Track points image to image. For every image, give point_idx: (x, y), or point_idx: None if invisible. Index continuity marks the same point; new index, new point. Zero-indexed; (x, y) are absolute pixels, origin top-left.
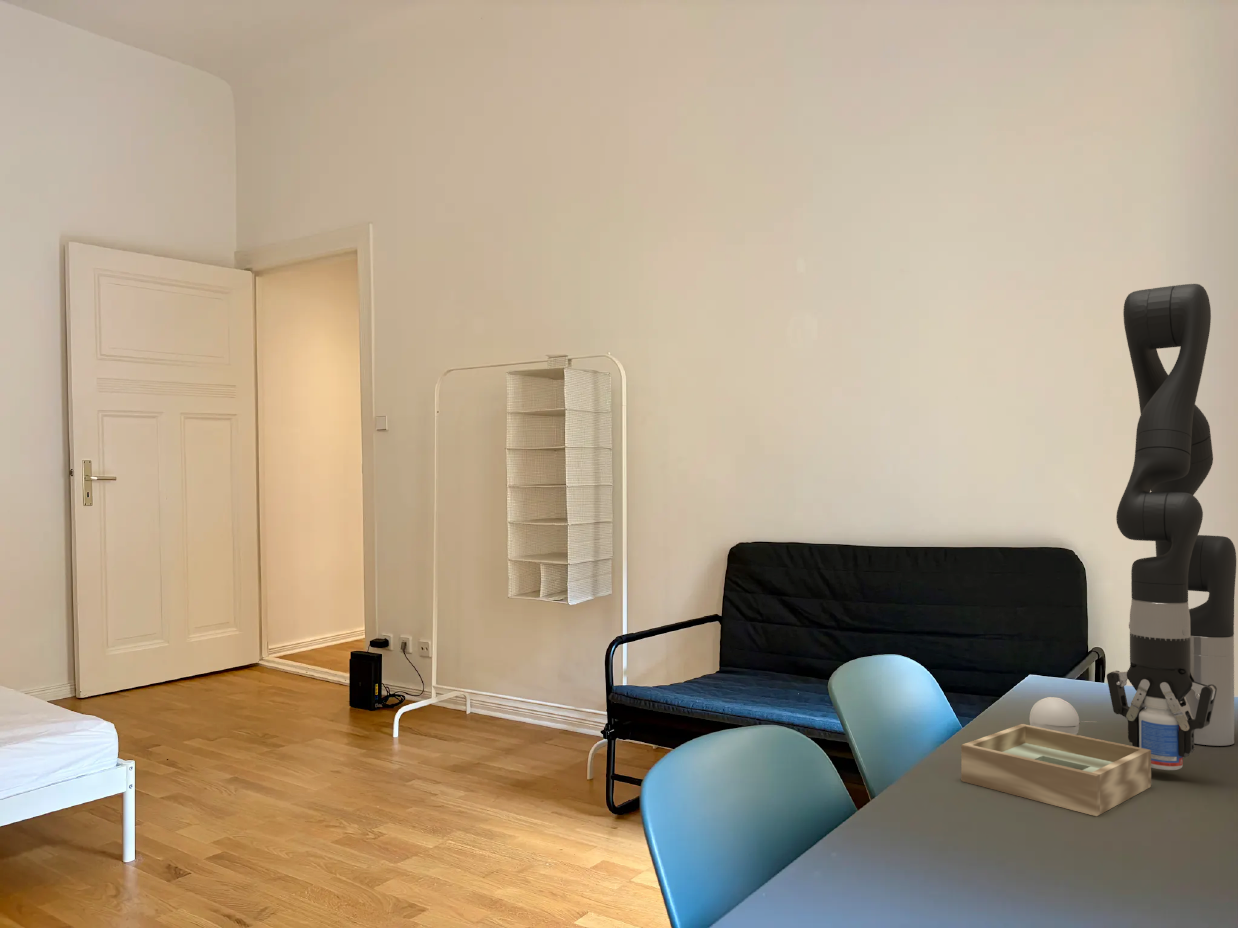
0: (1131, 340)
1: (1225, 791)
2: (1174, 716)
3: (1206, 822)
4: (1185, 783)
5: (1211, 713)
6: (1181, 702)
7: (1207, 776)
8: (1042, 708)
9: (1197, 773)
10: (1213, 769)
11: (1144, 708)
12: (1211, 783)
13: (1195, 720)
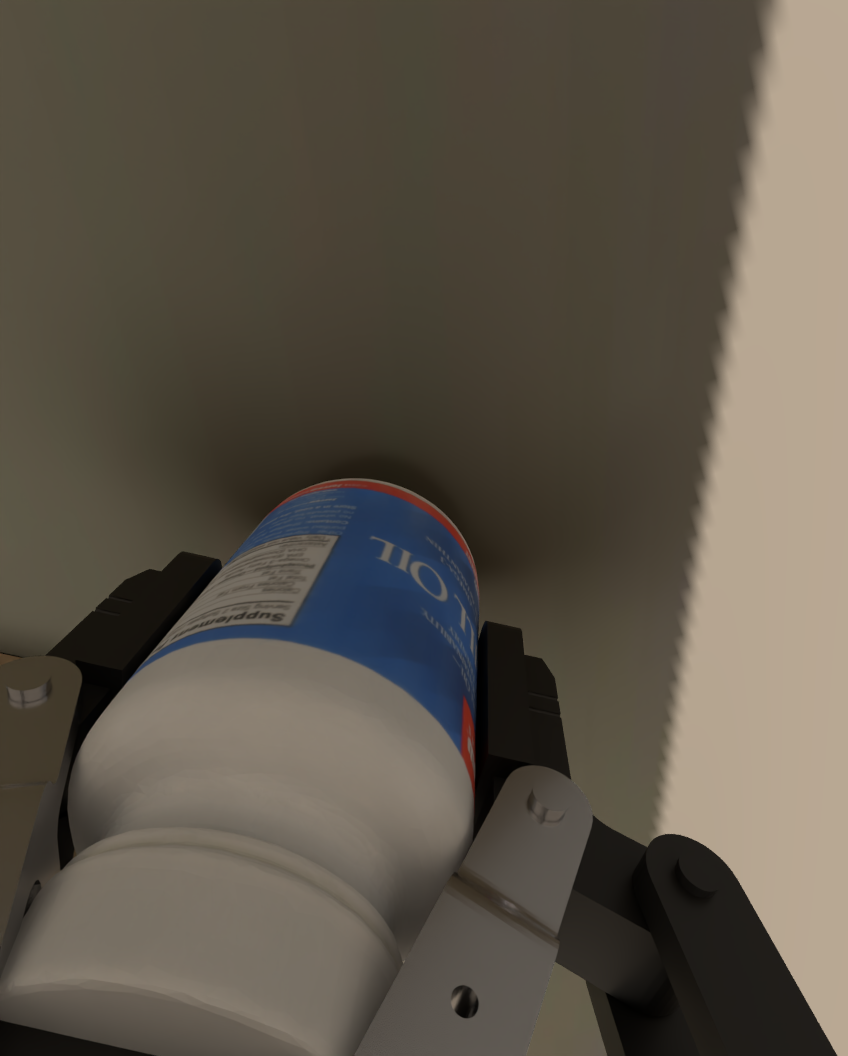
0: None
1: (672, 638)
2: (408, 953)
3: (575, 980)
4: (495, 611)
5: (805, 1017)
6: (453, 995)
7: (603, 401)
8: None
9: (548, 366)
10: (652, 170)
11: (64, 780)
12: (617, 538)
13: (601, 1009)
